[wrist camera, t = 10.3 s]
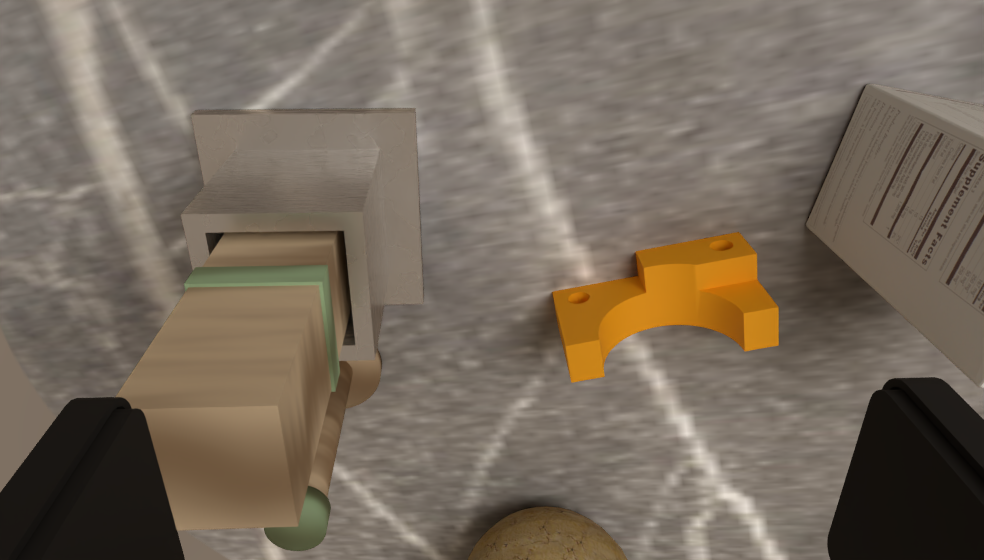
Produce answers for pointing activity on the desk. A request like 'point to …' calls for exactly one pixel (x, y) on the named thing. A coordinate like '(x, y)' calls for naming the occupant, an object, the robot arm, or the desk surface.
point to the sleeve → (318, 196)
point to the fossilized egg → (546, 538)
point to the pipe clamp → (669, 301)
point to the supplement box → (914, 214)
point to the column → (246, 378)
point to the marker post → (328, 455)
